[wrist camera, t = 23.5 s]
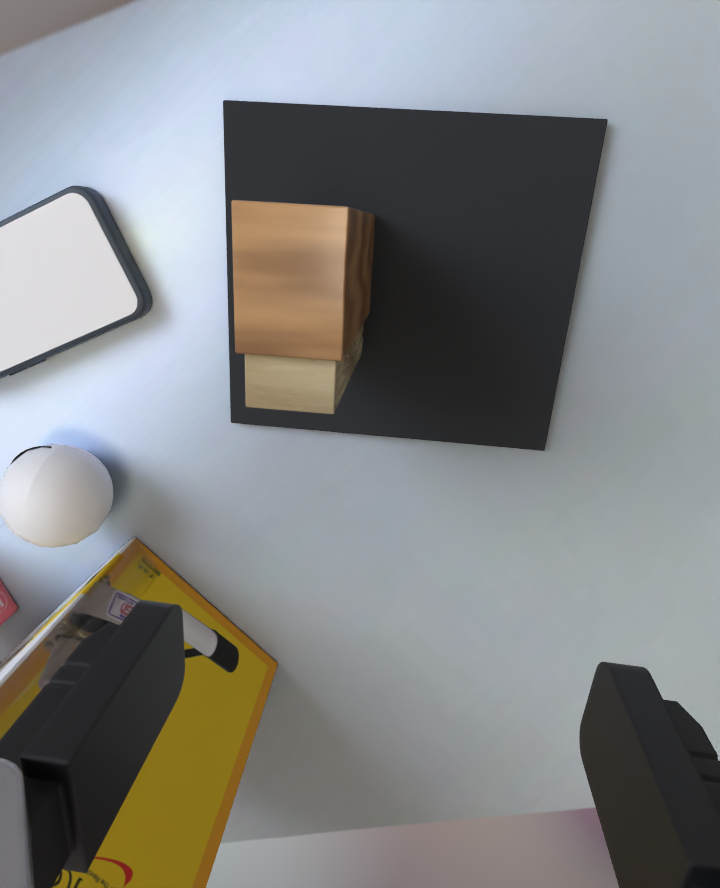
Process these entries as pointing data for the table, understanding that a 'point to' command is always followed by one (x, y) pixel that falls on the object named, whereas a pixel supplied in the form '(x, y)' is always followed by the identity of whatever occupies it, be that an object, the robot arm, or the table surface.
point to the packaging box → (183, 735)
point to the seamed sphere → (55, 495)
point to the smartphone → (63, 278)
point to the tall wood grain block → (300, 300)
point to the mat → (433, 258)
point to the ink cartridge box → (6, 604)
